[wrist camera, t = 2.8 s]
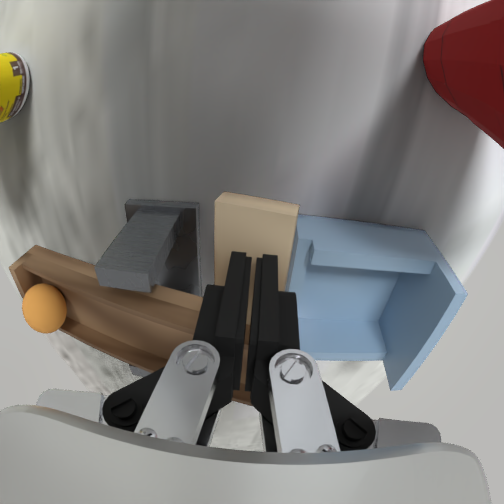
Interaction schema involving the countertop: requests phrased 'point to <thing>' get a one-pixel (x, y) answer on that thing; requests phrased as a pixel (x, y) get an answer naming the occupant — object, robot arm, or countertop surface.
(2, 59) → the supplement bottle
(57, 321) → the ball
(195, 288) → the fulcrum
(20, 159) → the countertop surface
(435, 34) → the plastic cup
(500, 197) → the countertop surface
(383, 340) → the blue tray
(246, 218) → the lever
